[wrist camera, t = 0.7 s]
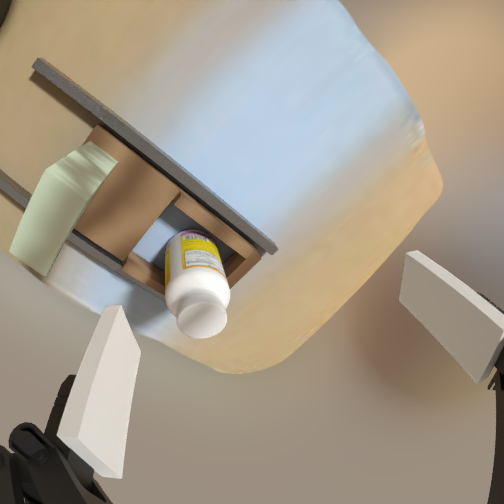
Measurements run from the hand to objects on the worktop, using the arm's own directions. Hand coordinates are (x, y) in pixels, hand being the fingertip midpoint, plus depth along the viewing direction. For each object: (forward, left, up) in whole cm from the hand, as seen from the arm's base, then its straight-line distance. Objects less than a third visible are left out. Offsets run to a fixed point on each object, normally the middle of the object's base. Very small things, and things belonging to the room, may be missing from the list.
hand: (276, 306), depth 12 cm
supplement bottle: (+11, -3, -23) cm, 26 cm away
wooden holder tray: (+6, -8, -23) cm, 25 cm away
